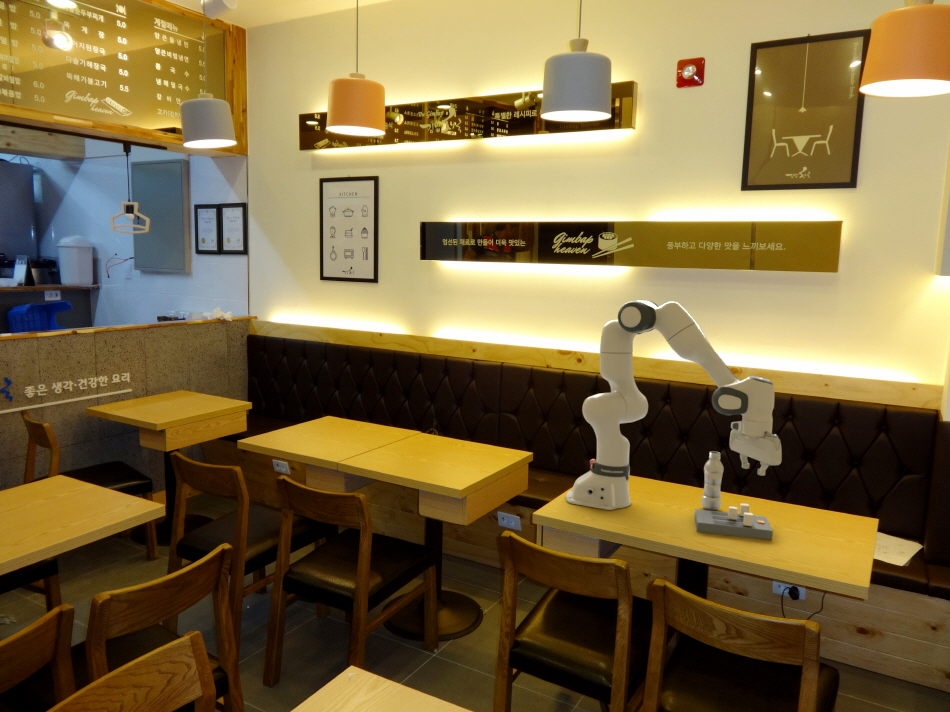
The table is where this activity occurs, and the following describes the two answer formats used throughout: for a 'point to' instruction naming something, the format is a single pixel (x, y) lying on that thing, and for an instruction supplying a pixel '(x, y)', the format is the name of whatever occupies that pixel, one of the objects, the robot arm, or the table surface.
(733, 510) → the block
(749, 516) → the block
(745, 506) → the block
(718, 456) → the plastic bottle
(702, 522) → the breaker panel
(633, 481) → the table surface
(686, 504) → the table surface
